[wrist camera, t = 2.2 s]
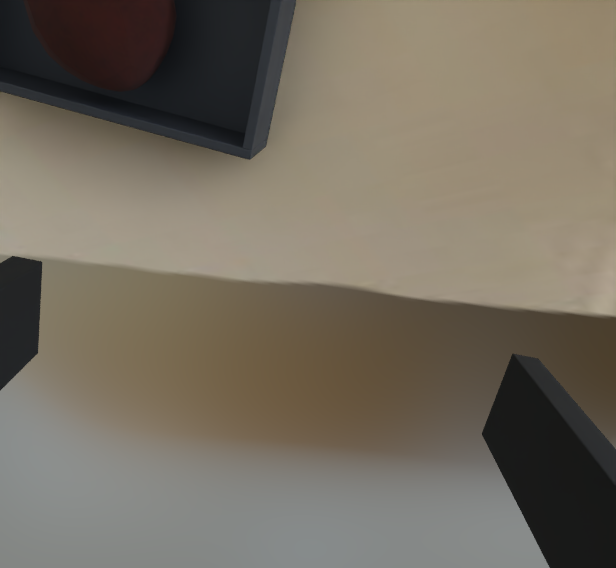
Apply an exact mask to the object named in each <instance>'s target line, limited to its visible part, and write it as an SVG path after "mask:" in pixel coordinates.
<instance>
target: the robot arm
mask: <svg viewBox="0 0 616 568" xmlns="http://www.w3.org/2000/svg"><path fill="white" fill-rule="evenodd" d="M41 278H42V262H41V261H36V260H30V259H25V258H20V257H15V256H12V257H10V258H8V259H7V260H5V261H3V262H2V263H0V390H1V389H2V388H3V387H4V386H5V385H6V384H7V383H8V382H9V381H10V380H11V379H12V378H13V377H14V376H15V375H16V374H17V373H18V372H19V371H20V370H21V369H22V368H23V367H24V366H25V365H26V364H27V363H28V362H29V361H30V360H31V359H32V358H33V357H34V356H35V355H36V354H37V353H38V340H39V320H40V299H41ZM482 435H483V437H484V439H485V441H486V443H487V445H488V447H489V449H490V451H491V453H492V455H493V457H494V459H495V461H496V463H497V465H498V467H499V469H500V471H501V473H502V475H503V477H504V479H505V481H506V483H507V485H508V487H509V488H510V490H511V492H512V494H513V496H514V498H515V500H516V502H517V504H518V506H519V508H520V510H521V512H522V514H523V516H524V518H525V520H526V522H527V524H528V526H529V527H530V530H531V532H532V534H533V536H534V538H535V539H536V542H537V544H538V545H539V547H540V549H541V551H542V553H543V555H544V557H545V559H546V561H547V563H548V565H549V567H550V568H616V449H615V448H614V447H613V445H612V444H611V443H610V442H609V441H608V440H607V438H605V436H604V435H603V434H602V433H601V431H600V430H599V429H598V428H597V427H596V426H595V424H594V423H593V422H592V421H591V420H590V418H589V417H588V416H587V415H586V414H585V413H584V411H583V410H582V409H581V408H580V407H579V406H578V405H577V403H576V402H575V401H574V400H573V399H572V398H571V396H570V395H569V394H568V393H567V392H566V391H565V389H564V388H563V387H562V386H561V385H560V383H559V382H558V381H557V380H556V379H555V378H554V377H553V375H552V374H551V373H550V372H549V371H548V369H547V368H546V367H545V366H544V365H543V364H542V363H541V361H540V360H539V359H538V358H533V357H527V356H522V355H517V354H512V356H511V359H510V362H509V364H508V367H507V370H506V372H505V375H504V377H503V380H502V383H501V385H500V388H499V390H498V393H497V395H496V398H495V401H494V404H493V406H492V408H491V411H490V414H489V416H488V419H487V421H486V424H485V427H484V429H483V432H482Z"/></svg>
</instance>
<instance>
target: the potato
mask: <svg viewBox="0 0 616 568" xmlns="http://www.w3.org/2000/svg"><path fill="white" fill-rule="evenodd" d="M23 1H24V5H25V8H26V11H27V14H28V17H29V21H30V24H31V27H32V30H33V32H34V34H35V35H36V37H37V38H38V40H39V41H40V43H41V44H42V46H43V47H44V49H45V51H46V52H47V54H48V55H49V56H50V57H51V58H52V59H53V60H54V61H56V62H57V63H58V64H59V65H60V66H61V67H62V68H63V69H64V70H65V71H67V72H69V73H70V74H72V75H74V76H75V77H77V78H78V79H80V80H82V81H84V82H86V83H89V84H92V85H94V86H97V87H99V88H103V89H107V90H113V91H119V92H122V91H130V90H134V89H137V88H139V87H140V86H141V85H143V84H144V83H146V82H147V81H148V80H149V79H150V78H151V77H152V76H153V74H154V73H155V72H156V70H157V69H158V68H159V66H160V65H161V63H162V61H163V59H164V58H165V56H166V54H167V52H168V49H169V47H170V44H171V42H172V39H173V37H174V30H175V24H176V18H177V15H176V8H175V2H174V0H23Z"/></svg>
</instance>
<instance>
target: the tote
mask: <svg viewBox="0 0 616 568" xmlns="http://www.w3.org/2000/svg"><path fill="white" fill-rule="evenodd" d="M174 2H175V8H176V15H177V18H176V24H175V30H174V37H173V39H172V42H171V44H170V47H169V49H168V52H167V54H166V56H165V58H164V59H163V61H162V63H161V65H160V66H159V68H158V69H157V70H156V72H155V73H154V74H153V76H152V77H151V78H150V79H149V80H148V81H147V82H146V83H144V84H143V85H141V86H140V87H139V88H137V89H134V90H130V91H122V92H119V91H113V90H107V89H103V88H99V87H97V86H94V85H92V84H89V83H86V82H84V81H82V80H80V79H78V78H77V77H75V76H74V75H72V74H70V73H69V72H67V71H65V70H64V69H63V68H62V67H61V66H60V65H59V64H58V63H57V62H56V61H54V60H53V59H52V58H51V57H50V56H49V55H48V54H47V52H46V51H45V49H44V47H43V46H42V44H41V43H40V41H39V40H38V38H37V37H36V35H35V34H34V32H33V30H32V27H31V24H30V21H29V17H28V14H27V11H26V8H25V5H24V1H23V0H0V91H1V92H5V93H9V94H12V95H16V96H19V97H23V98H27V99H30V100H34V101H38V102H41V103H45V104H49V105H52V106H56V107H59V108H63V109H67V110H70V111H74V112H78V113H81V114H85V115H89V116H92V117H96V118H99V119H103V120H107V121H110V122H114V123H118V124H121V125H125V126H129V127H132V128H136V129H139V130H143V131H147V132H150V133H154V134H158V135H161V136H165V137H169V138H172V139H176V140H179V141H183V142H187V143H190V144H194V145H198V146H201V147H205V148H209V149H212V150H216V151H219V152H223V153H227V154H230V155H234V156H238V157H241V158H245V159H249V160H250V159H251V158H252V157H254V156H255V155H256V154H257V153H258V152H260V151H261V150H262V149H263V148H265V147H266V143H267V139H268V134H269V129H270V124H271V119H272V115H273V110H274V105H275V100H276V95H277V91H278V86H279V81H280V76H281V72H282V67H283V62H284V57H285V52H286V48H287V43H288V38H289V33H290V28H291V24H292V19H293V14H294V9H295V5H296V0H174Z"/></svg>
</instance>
